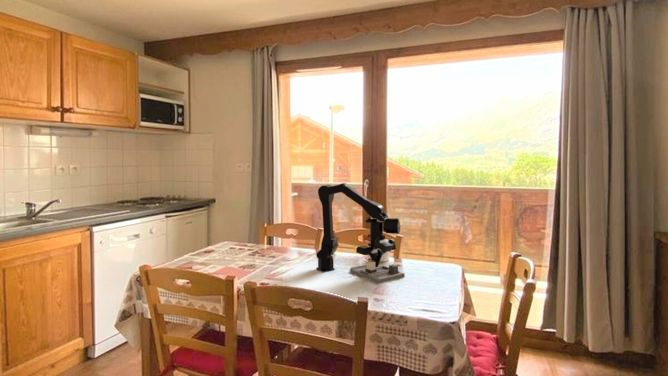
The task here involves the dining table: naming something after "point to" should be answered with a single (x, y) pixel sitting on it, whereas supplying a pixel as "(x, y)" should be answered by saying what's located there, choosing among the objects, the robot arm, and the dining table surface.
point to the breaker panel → (378, 273)
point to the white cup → (385, 257)
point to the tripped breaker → (371, 267)
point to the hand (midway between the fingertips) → (376, 266)
